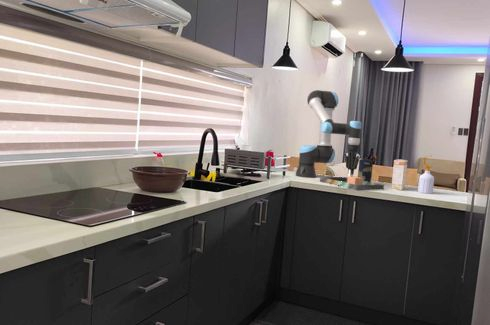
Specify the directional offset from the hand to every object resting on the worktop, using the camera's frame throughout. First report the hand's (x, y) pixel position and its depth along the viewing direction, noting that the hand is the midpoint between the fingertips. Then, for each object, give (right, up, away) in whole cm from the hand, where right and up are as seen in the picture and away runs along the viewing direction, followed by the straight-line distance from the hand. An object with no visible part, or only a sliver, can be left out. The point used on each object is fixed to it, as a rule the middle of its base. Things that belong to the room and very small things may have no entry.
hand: (350, 179), depth 289 cm
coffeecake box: (+33, -7, +2) cm, 33 cm away
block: (+2, -5, -3) cm, 6 cm away
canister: (+15, -4, +20) cm, 25 cm away
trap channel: (0, -4, 0) cm, 4 cm away
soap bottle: (+47, -9, -8) cm, 48 cm away
